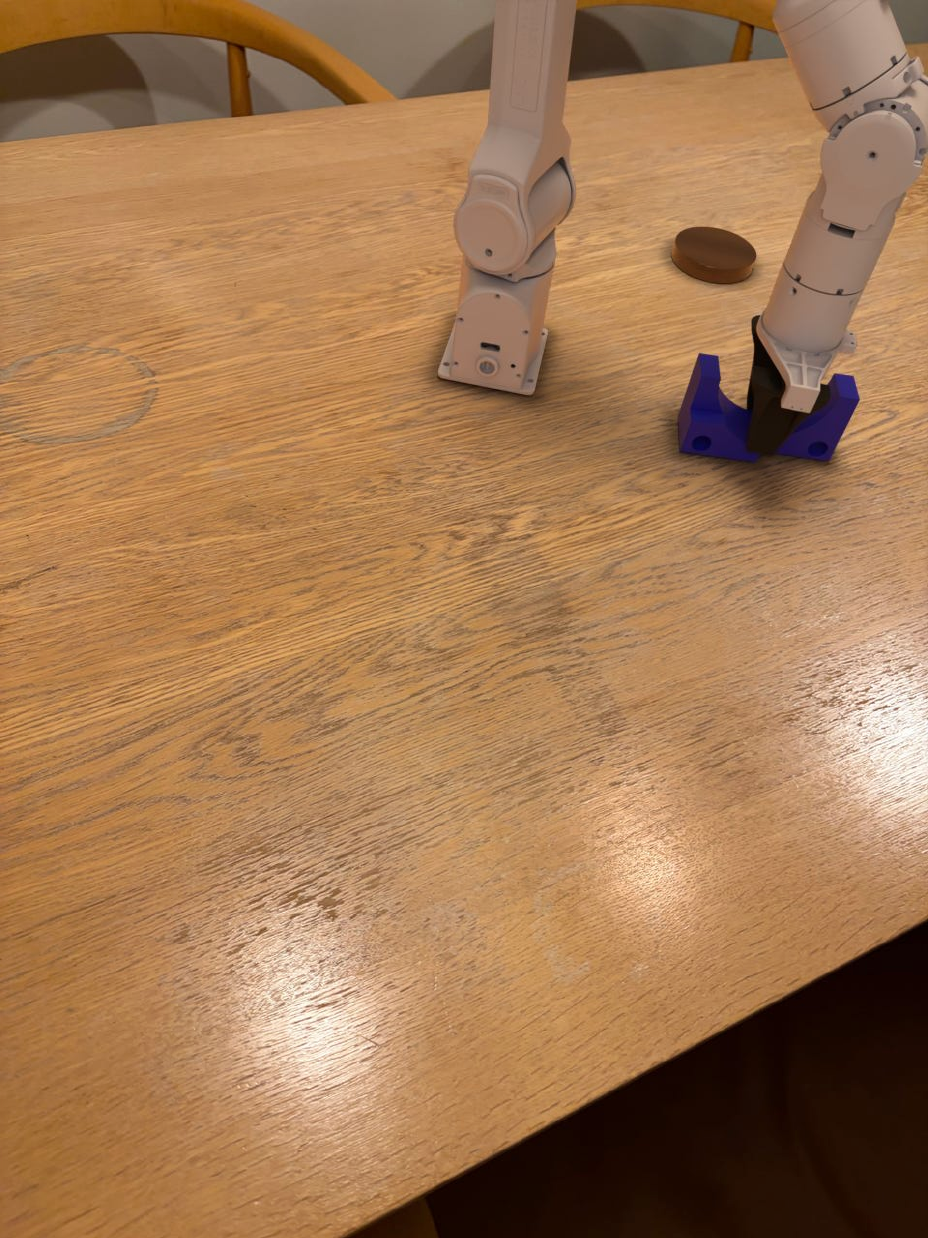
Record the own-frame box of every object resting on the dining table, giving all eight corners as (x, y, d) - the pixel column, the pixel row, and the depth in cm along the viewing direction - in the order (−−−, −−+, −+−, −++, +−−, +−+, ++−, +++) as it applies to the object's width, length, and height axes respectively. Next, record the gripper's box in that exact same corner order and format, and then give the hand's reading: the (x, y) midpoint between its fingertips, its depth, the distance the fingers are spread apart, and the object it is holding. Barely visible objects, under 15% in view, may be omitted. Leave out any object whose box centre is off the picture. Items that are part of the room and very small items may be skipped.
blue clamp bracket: (680, 451, 77) (702, 387, 72) (677, 415, 80) (698, 352, 75) (831, 473, 77) (863, 411, 73) (824, 437, 80) (853, 375, 76)
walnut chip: (751, 290, 94) (757, 275, 93) (669, 274, 95) (673, 259, 94) (751, 248, 100) (756, 234, 98) (673, 234, 100) (676, 219, 99)
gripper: (894, 342, 62) (814, 501, 73) (874, 232, 72) (806, 386, 82) (783, 321, 63) (719, 482, 73) (778, 213, 72) (722, 369, 82)
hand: (759, 430), depth 77 cm, fingers closed on blue clamp bracket, 5 cm apart
